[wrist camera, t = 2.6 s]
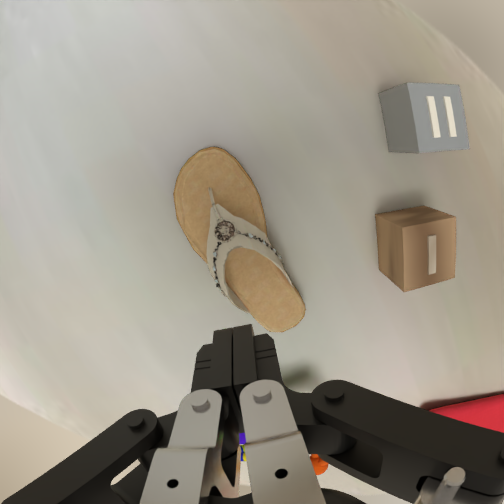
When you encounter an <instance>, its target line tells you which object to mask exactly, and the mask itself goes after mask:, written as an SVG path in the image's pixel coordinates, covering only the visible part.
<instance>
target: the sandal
mask: <svg viewBox="0 0 504 504" xmlns="http://www.w3.org/2000/svg"><path fill="white" fill-rule="evenodd" d="M173 195H174V202H175V209H176V216H177V220H178V222H179V224H180V226H181V228H182V229H183V231H184V233H185V235H186V237H187V239H188V241H189V242H190V244H191V246H192V248H193V249H194V250H195V251H196V253H197V254H198V255H199V256H200V257H201V258H202V259H203V260H204V261H205V262H206V263H207V264H208V268H209V271H210V273H211V275H212V277H213V278H214V279H215V282H217V285H216V287H218V288H219V291H221V292H222V294H223V295H224V296H226V297H228V299H229V300H230V301H231V303H232V304H233V305H235V306H236V307H238V308H239V309H241V310H243V311H244V312H246V313H250V314H251V315H252V316H253V317H254V318H255V319H256V320H257V322H258V323H260V324H261V325H262V326H263V327H264V328H265V329H267V330H269V331H270V332H284V331H286V330H288V329H290V328H292V327H294V326H296V325H297V324H298V323H299V322H300V321H301V320H302V318H303V317H304V315H305V310H306V309H305V304H304V302H303V300H302V298H301V296H300V294H299V292H298V291H297V289H296V288H295V287H294V285H293V284H292V282H291V281H290V279H289V277H288V275H287V273H286V271H285V269H284V268H283V266H282V260H281V257H280V256H279V254H278V253H277V251H276V249H274V248H273V247H272V245H271V244H270V242H269V240H268V238H267V231H266V221H265V216H264V212H263V208H262V204H261V200H260V196H259V194H258V192H257V190H256V188H255V186H254V184H253V182H252V180H251V178H250V177H249V176H248V174H247V173H246V172H245V170H244V169H243V168H242V166H241V165H240V164H239V162H238V161H237V160H236V158H234V157H233V156H232V155H230V154H229V153H228V152H226V151H225V150H223V149H222V148H217V147H209V148H206V149H202V150H200V151H198V152H197V153H196V154H195V155H193V156H192V157H191V158H190V159H188V161H187V162H186V163H185V165H184V166H183V167H182V168H181V170H180V172H179V175H178V177H177V180H176V184H175V189H174V193H173ZM221 289H222V290H221Z"/></svg>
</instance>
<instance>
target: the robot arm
mask: <svg viewBox="0 0 504 504" xmlns="http://www.w3.org/2000/svg"><path fill="white" fill-rule="evenodd" d="M239 433H245V437H246V443H245V444H244V447H245V454H246V460H247V467H248V473H249V479H250V485H251V491H252V493H250V494H247V495H244V496H241V497H239V479H240V462H241V448H240V445H239V442H240V441H239ZM309 454H318V456H319V457H320V458H321V459H322V460H323V461H325V462H327V463H329V464H331V465H332V466H334V467H336V468H338V469H340V470H342V471H344V472H346V473H347V474H349V475H351V476H353V477H355V478H357V479H359V480H361V481H363V482H365V483H367V484H370V485H372V486H374V487H376V488H378V489H380V490H382V491H385V492H387V493H389V494H391V495H394V496H396V497H398V498H400V499H403V500H405V501H408V502H410V503H412V504H502V502H503V500H504V433H503V432H499V431H495V430H491V429H488V428H484V427H480V426H477V425H473V424H470V423H466V422H463V421H460V420H456V419H453V418H450V417H446V416H443V415H440V414H437V413H434V412H431V411H428V410H425V409H422V408H419V407H416V406H413V405H410V404H407V403H404V402H401V401H398V400H395V399H393V398H390V397H387V396H384V395H382V394H379V393H376V392H374V391H371V390H368V389H366V388H363V387H360V386H358V385H355V384H353V383H350V382H347V381H344V380H331V381H327V382H324V383H322V384H320V385H319V386H317V387H316V388H315V389H314V390H313V392H312V393H299V392H295V391H292V390H290V389H288V388H287V387H286V386H285V385H284V384H283V381H282V377H281V372H280V367H279V363H278V358H277V353H276V348H275V344H274V339H272V338H271V337H270V336H269V335H268V334H262V335H256V336H254V332H253V327H252V324H248V325H243V326H238V327H233V328H227V329H222V330H216V331H214V334H213V344H207V345H203V346H202V347H201V349H200V350H199V351H198V353H197V357H196V363H195V370H194V375H193V382H192V388H191V393H190V394H188V395H187V396H185V397H184V398H183V399H182V401H181V403H180V405H179V409H178V411H176V412H174V413H171V414H168V415H165V416H162V417H158V418H157V416H156V415H155V413H153V412H152V411H150V410H147V409H138V410H134V411H131V412H129V413H127V414H126V415H125V416H123V417H122V418H121V419H119V420H118V421H117V422H115V423H114V424H113V425H111V426H110V427H109V428H107V429H106V430H105V431H103V432H102V433H101V434H99V435H98V436H97V437H95V438H94V439H92V440H91V441H90V442H88V443H87V444H86V445H85V446H83V447H81V448H80V449H79V450H77V451H76V452H74V453H73V454H72V455H70V456H69V457H67V458H66V459H65V460H63V461H62V462H60V463H59V464H58V465H56V466H55V467H53V468H52V469H50V470H49V471H47V472H46V473H44V474H43V475H42V476H40V477H39V478H37V479H36V480H34V481H33V482H32V483H30V484H28V485H27V486H25V487H24V488H23V489H21V490H19V491H18V492H16V493H15V494H13V495H12V496H10V497H9V498H7V499H5V500H4V501H3V502H2V504H366V503H364V502H362V501H361V500H359V499H357V498H355V497H353V496H351V495H349V494H346V493H344V492H340V491H337V490H332V489H325V488H320V485H319V482H318V479H317V477H316V474H315V471H314V468H313V465H312V462H311V459H310V457H309ZM137 459H138V460H139V462H140V463H141V464H140V465H138V466H137V467H136V468H135V469H133V470H132V471H131V472H130V473H129V474H127V475H126V476H125V477H124V478H122V479H121V480H120V481H119V482H118V483H116V484H114V485H111V481H112V480H113V478H114V477H116V476H117V475H118V474H119V473H121V472H122V471H123V470H124V469H126V468H127V467H128V466H129V465H131V464H132V463H133V462H134V461H135V460H137Z"/></svg>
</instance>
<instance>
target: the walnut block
mask: <svg viewBox="0 0 504 504" xmlns="http://www.w3.org/2000/svg"><path fill="white" fill-rule="evenodd" d="M375 219H376V230H377V243H378V259H379V270H380V271H381V272H382V273H383V274H384V275H385V276H387V277H388V278H389V279H390V280H391V281H392V282H393V283H394V284H395V285H397V286H398V287H399V288H400V289H401V290H402V291H403V292H407V291H410V290H414V289H417V288H421V287H424V286H428V285H431V284H435V283H438V282H441V281H445V280H448V279H451V278H455V260H456V217H455V216H452V215H449V214H447V213H444V212H441V211H438V210H435V209H432V208H429V207H426V206H419V207H413V208H407V209H402V210H396V211H391V212H385V213H380V214H375Z"/></svg>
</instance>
